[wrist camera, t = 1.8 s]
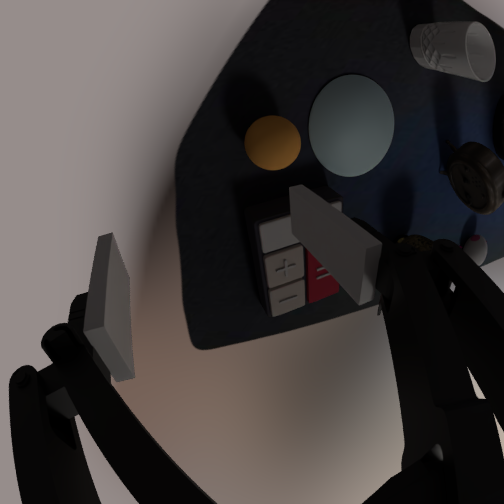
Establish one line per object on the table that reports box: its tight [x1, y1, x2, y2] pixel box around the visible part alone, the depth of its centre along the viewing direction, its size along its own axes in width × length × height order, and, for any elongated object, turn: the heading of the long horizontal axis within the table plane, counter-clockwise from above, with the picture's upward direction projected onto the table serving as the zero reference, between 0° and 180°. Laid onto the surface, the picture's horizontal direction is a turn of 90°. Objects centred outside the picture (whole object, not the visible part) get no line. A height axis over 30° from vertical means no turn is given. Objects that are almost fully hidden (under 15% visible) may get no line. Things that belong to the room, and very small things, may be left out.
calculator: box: [244, 186, 343, 317], centre depth 39 cm, size 11×4×15 cm
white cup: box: [410, 21, 496, 82], centre depth 27 cm, size 8×8×10 cm
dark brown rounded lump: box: [393, 235, 434, 252], centre depth 44 cm, size 8×7×8 cm
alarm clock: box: [439, 140, 504, 215], centre depth 36 cm, size 11×5×16 cm, turn 32°
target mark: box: [308, 75, 394, 177], centre depth 34 cm, size 13×13×1 cm
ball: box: [244, 115, 301, 170], centre depth 30 cm, size 6×6×6 cm
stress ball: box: [460, 235, 487, 266], centre depth 55 cm, size 8×8×7 cm
